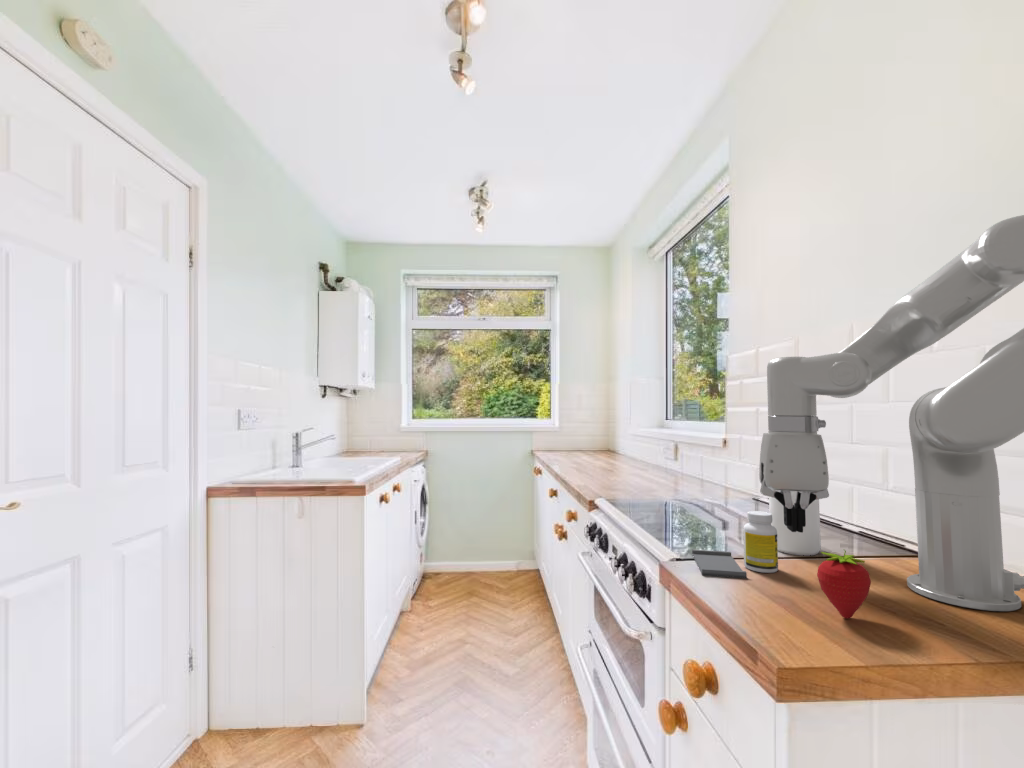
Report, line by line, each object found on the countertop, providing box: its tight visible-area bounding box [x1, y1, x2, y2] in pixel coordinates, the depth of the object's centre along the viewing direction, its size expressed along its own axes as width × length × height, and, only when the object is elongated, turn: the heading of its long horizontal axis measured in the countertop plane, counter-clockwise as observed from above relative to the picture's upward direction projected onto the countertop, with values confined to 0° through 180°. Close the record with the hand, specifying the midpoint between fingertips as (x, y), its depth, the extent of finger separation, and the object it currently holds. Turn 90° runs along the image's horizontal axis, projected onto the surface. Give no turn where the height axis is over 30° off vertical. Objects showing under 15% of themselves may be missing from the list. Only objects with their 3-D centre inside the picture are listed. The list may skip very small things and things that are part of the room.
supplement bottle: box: [742, 510, 779, 574], centre depth 85 cm, size 5×5×10 cm
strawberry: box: [816, 550, 872, 620], centre depth 65 cm, size 6×8×10 cm
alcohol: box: [768, 489, 822, 557], centre depth 97 cm, size 9×9×30 cm
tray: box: [691, 549, 748, 579], centre depth 87 cm, size 7×12×1 cm, turn 167°
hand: (794, 530), depth 84 cm, fingers closed
